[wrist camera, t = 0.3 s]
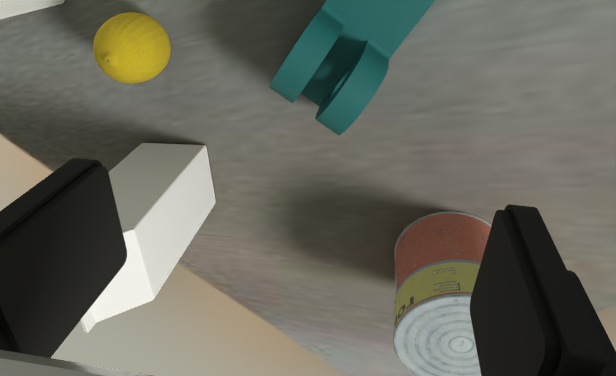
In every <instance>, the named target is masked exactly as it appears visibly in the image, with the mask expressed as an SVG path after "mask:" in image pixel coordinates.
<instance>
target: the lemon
mask: <svg viewBox="0 0 616 376" xmlns="http://www.w3.org/2000/svg"><path fill="white" fill-rule="evenodd" d="M93 51H94V56H95V59H96V62H97V63H98V65H99V67H100V68H101V69H102V70H103V71H104V73H106V74H107V75H108V76H110V77H111V78H113V79H115V80H117V81H120V82H124V83H140V82H143V81H147V80H150V79H152V78H153V77H155V76H156V75H158V74H159V73H160V72H161V71H162V70H163V69H164V67H165V66H166V65H167V63H168V60H169V57H170V51H171V46H170V40H169V37H168V35H167V33H166V31H165V30H164V28H163V27H162V26H161V25H160V24H159V22H158V21H156V20H155V19H153V18H152V17H150V16H148V15H145V14H142V13H135V12H127V13H122V14H118V15H116V16H114V17H112V18H110V19H109V20H107V21H106V22H105V23H104V24H103V25H102V26H101V27H100V28H99V30H98V31H97V33H96V36H95V38H94V43H93Z"/></svg>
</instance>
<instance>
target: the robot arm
mask: <svg viewBox="0 0 616 376" xmlns="http://www.w3.org/2000/svg"><path fill="white" fill-rule="evenodd" d="M126 259H127V249H126V244H125V240H124V236H123V232H122V228H121V223H120V219H119V215H118V211H117V206H116V202H115V198H114V194H113V190H112V185H111V181H110V177H109V173H108V170H107V169H106V168H105V167H103V166H102V164H101V163H100V162H99V161H97V160H89V159H80V158H73V159H71V160H70V161H68V162H67V163H65V164H64V165H63V166H61V167H60V168H59V169H57V170H56V171H55V172H53V173H52V174H51V175H49V176H48V177H46V178H45V179H44V180H42V181H41V182H40V183H38V184H37V185H36V186H34V187H33V188H31V189H30V190H29V191H28V192H26V193H25V194H23V195H22V196H21V197H19V198H18V199H16V200H15V201H14V202H12V203H11V204H10V205H8V206H7V207H6V208H4V209H3V210H1V211H0V376H152V375H146V374H140V373H134V372H129V371H123V370H116V369H111V368H106V367H100V366H94V365H87V364H81V363H75V362H69V361H64V360H57V359H52V358H51V356H52V355H53V354H54V353H55V351H56V350H57V349H58V348H59V346H60V345H61V344H62V342H63V341H64V340H65V339H66V337H67V336H68V335H69V334H70V332H71V331H72V330H73V329H74V327H75V326H76V325H77V324H78V322H79V321H80V320H81V319H82V317H83V316H84V315H85V314H86V312H87V311H88V310H89V308H90V307H91V306H92V305H93V303H94V302H95V301H96V300H97V298H98V297H99V296H100V295H101V293H102V292H103V291H104V290H105V288H106V287H107V286H108V285H109V283H110V282H111V281H112V279H113V278H114V277H115V276H116V274H117V273H118V272H119V271H120V269H121V268H122V267H123V266H124V264H125V262H126ZM470 316H471V322H472V327H473V333H474V338H475V344H476V349H477V354H478V360H479V365H480V371H481V376H616V351H615V349H614V347H613V346H612V344H611V341H610V339H609V337H608V335H607V333H606V331H605V329H604V328H603V326H602V324H601V322H600V320H599V318H598V316H597V314H596V312H595V310H594V308H593V306H592V304H591V302H590V300H589V298H588V296H587V294H586V292H585V290H584V288H583V286H582V284H581V282H580V280H579V278H578V277H577V275H576V274H575V273H574V272H572V271H568V270H567V269H566V267H565V265H564V263H563V261H562V259H561V257H560V255H559V253H558V251H557V249H556V246H555V244H554V242H553V240H552V238H551V236H550V234H549V232H548V230H547V228H546V226H545V224H544V222H543V219H542V217H541V215H540V213H539V211H538V210H537V208H535V207H527V206H518V205H507V206H506V208H505V210H497V211H496V213H495V216H494V219H493V223H492V226H491V230H490V233H489V236H488V240H487V243H486V247H485V250H484V254H483V257H482V261H481V264H480V268H479V271H478V275H477V278H476V281H475V285H474V288H473V292H472V295H471V299H470Z"/></svg>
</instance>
